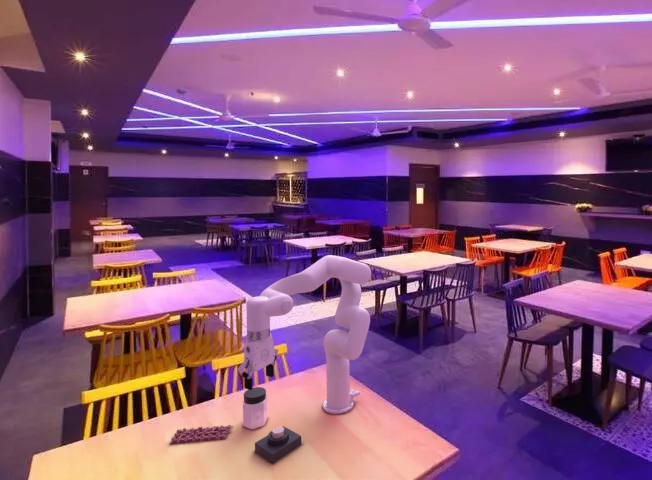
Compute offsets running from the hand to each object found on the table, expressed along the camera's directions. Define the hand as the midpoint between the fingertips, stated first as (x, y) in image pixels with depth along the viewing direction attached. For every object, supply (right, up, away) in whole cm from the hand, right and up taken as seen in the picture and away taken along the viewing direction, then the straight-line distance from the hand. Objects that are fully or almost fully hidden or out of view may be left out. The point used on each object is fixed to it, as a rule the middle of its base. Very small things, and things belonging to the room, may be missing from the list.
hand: (259, 382), depth 137 cm
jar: (-7, -23, +16) cm, 29 cm away
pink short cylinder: (+6, -19, +1) cm, 20 cm away
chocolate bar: (-24, -24, +9) cm, 35 cm away
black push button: (+6, -24, +1) cm, 24 cm away
